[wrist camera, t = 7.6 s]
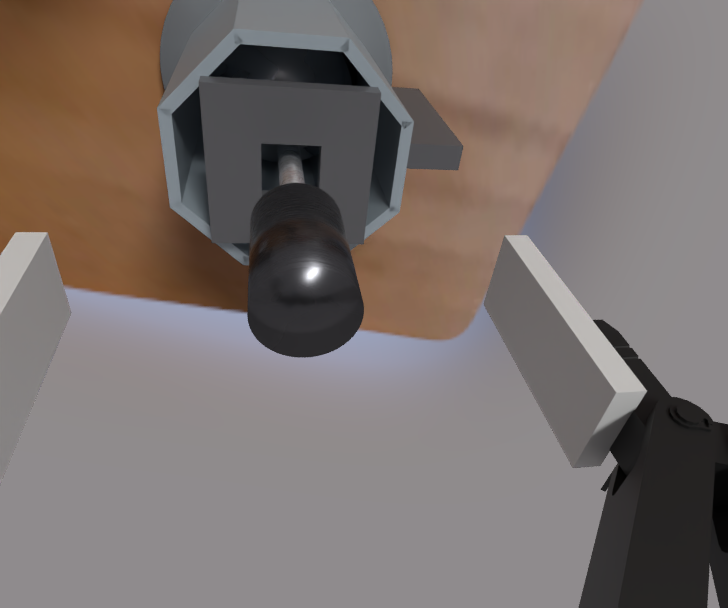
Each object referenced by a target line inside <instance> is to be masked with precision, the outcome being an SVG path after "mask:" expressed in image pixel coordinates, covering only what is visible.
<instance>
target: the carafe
mask: <svg viewBox="0 0 728 608" xmlns="http://www.w3.org/2000/svg"><path fill="white" fill-rule="evenodd" d="M240 44H246V45H259V46H272V47H285V48H299V49H312V50H325V51H338V52H341V53H342V55H343V57H344V59H345V61H346V64H347V66H348V69H349V72H350V76H351V81H352V85H336V84H321V83H305V82H290V81H274V80H259V79H243V78H228V77H212V76H210V74H211V73H212V72H213V71H214V70H215V69H216V68H217V67H218V66H219V65H220V64H221V63H222V62H223V61H224V60H225V59H226V58H227V57H228V56H229V55H230V54H231V53H232V52H233V51H234V50H235V49H236V48H237V47H238V46H239V45H240ZM157 111H158V119H159V127H160V134H161V142H162V150H163V157H164V165H165V173H166V180H167V188H168V196H169V203H170V208H172V209H173V210H174V211H175V212H177V213H178V214H179V215H180V216H182V217H183V218H184V219H185V220H187V221H188V222H189V223H191V224H192V225H193V226H194V227H196V228H197V229H198V230H199V231H201V232H202V233H203V234H204V235H206V236H207V237H208V238H210V239H211V241H212V243H216V244H217V245H218V246H220V247H221V248H222V249H223V250H225V251H226V252H227V253H229V254H230V255H231V256H232V257H234V258H235V259H236V260H237V261H239V262H240V263H241V264H242V265H249V245H250V218H251V214H252V211H253V208H254V206H255V205H256V203H257V202H258V200H259V199H260V198H261V197H262V196H263V195H264V194H265V193H267V192H268V191H270V190H271V189H273V188H275V187H278V186H280V183H279V168H278V162H272V161H268V160H264V159H261V144H284V145H308V146H319V153H318V154H317V155H315V156H312V157H310V158H308V159H305V160H301V161H302V168H303V174H304V181H305V184H309V185H313V186H316V187H318V188H320V189H322V190H323V191H325V192H326V193H328V194H329V195H330V196H331V197H332V198H333V199H334V201H335V202H336V204H337V205H338V207H339V209H340V212H341V216H342V220H343V224H344V228H345V232H346V236H347V240H348V244H349V248H350V250H352V249H353V248H354V247H356V246H357V245H358V244H364V239H366V238H367V237H368V236H370V235H371V234H372V233H373V232H375V231H376V230H377V229H378V228H380V227H381V226H382V225H384V224H385V223H386V222H387V221H389V220H390V219H391V218H392V217H394V216H395V215H396V214H398V213H399V212H400V206H401V199H402V193H403V187H404V181H405V174H406V168H410V169H438V170H458V168H459V164H460V159H461V155H462V150H463V145H462V144H461V142H460V141H459V140H458V139H457V137H456V136H455V135H454V133H453V132H452V131H451V130H450V128H449V127H448V126H447V124H446V123H445V122H444V121H443V119H442V118H441V117H440V116H439V114H438V113H437V112H436V110H435V109H434V108H433V107H432V105H431V104H430V103H429V101H428V100H427V99H426V98H425V96H424V95H423V94H422V93H421V91H420V90H419V89H413V88H398V87H391V86H390V84H389V83H388V81H387V80H386V78H385V77H384V75H383V74H382V72H381V70H380V69H379V67H378V66H377V64H376V63H375V61H374V60H373V58H372V57H371V55H370V54H369V52H368V51H367V49H366V48H365V46H364V45H363V44H362V42H361V41H360V40H359V38H358V37H357V36H356V34H355V33H354V32H353V30H352V29H351V28H350V26H349V25H348V24H347V22H346V21H345V20H344V19H343V17H342V16H341V15H340V13H339V12H338V11H337V9H336V8H335V7H334V5H333V4H332V3H331V1H330V0H222V2H221V3H220V4H219V5H218V6H217V7H216V8H215V9H214V10H213V11H212V12H211V13H210V14H209V15H208V17H207V18H206V19H205V20H204V21H203V22H202V23H201V24H200V25H199V26H198V27H197V28H196V29H195V30H194V32H193V33H192V34H191V35H190V38H189V40H188V42H187V44H186V46H185V49H184V51H183V53H182V55H181V57H180V59H179V62H178V64H177V66H176V68H175V70H174V72H173V75H172V77H171V79H170V81H169V83H168V86H167V88H166V90H165V92H164V94H163V96H162V99H161V101H160V103H159V105H158V107H157Z"/></svg>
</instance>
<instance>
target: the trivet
mask: <svg viewBox="0 0 728 608" xmlns="http://www.w3.org/2000/svg"><path fill="white" fill-rule="evenodd" d="M330 1H331V3H332V4H333V5H334V7H335V8H336V9H337V11H338V12H339V13H340V15H341V16H342V17H343V19H344V20H345V21H346V22H347V24H348V25H349V26H350V28H351V29H352V30H353V32H354V33H355V34H356V36H357V37H358V38H359V40H360V41H361V42H362V44H363V45H364V46H365V48H366V49H367V51H368V52H369V54H370V55H371V57H372V58H373V60H374V61H375V63H376V64H377V66H378V67H379V69H380V70H381V72H382V74H383V75H384V77H385V78H386V80H387V81H388V83H389V84H390V86H391V84H392V55H391V49H390V44H389V39H388V35H387V32H386V29H385V26H384V23H383V21H382V18H381V16H380V14H379V12H378V10H377V8H376V6H375V4H374V3H373V1H372V0H330ZM221 2H222V0H173V2H172V4H171V5H170V8H169V11H168V14H167V16H166V19H165V22H164V27H163V31H162V36H161V46H160V65H161V75H162V80H163V85H164V89H165V90H166V88H167V86H168V83H169V81H170V79H171V77H172V75H173V72H174V70H175V68H176V66H177V64H178V62H179V59H180V57H181V55H182V53H183V51H184V49H185V46H186V44H187V42H188V40H189V38H190V35H191V34H192V33H193V32H194V30H195V29H196V28H197V27H198V26H199V25H200V24H201V23H202V22H203V21H204V20H205V19H206V18H207V17H208V15H209V14H210V13H211V12H212V11H213V10H214V9H215V8H216V7H217V6H218V5H219V4H220V3H221Z"/></svg>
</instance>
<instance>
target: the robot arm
mask: <svg viewBox="0 0 728 608" xmlns="http://www.w3.org/2000/svg"><path fill="white" fill-rule="evenodd" d="M484 306H485V307H486V309H487V311H488V313H489V315H490V317H491V319H492V321H493V322H494V324H495V326H496V328H497V330H498V332H499V333H500V335H501V337H502V339H503V341H504V343H505V345H506V346H507V348H508V350H509V352H510V354H511V355H512V357H513V359H514V361H515V363H516V365H517V367H518V368H519V370H520V372H521V374H522V376H523V378H524V379H525V381H526V383H527V385H528V387H529V389H530V390H531V392H532V394H533V396H534V398H535V400H536V401H537V403H538V405H539V407H540V409H541V411H542V412H543V414H544V416H545V418H546V420H547V421H548V423H549V425H550V427H551V429H552V431H553V433H554V434H555V436H556V438H557V440H558V442H559V443H560V445H561V447H562V449H563V451H564V453H565V455H566V456H567V458H568V460H569V462H570V464H571V466H572V467H573V468H581V467H593V466H600V465H601V464H602V462H603V461H604V459H605V458H606V456H607V454H608V453H609V451H611V453H612V454H613V456H614V458H615V459H616V461H617V462H618V464H617V465H616V467H615V468H614V470H613V471H612V473H611V474H610V476H609V477H608V479H607V481H606V482H605V484H604V485H603V487H602V488H601V490H603V491H606V490H607V488H608V491H607V495H606V500H605V504H604V508H603V511H602V516H601V520H600V524H599V528H598V532H597V536H596V540H595V544H594V548H593V552H592V556H591V560H590V564H589V568H588V572H587V576H586V580H585V585H584V588H583V592H582V596H581V600H580V604H579V608H707V600H708V581H709V565H710V566H711V571H712V575H713V579H714V584H715V588H716V593H717V597H718V602H719V606H720V608H728V424H723V423H718V422H713V420H712V419H711V417H710V416H709V415H708V414H707V413H706V412H705V411H704V410H702V409H701V408H700V407H698V406H697V405H695V404H693V403H691V402H689V401H687V400H683V399H681V398H677V397H671V396H670V395H669V393H668V392H667V391H666V390H665V388H664V387H663V386H662V385H661V384H660V382H659V381H658V380H657V379H656V377H655V376H654V375H653V374H652V372H651V371H650V370H649V369H648V367H647V366H646V365H645V364H644V362H643V361H642V360H641V359H638V355H637V354H636V353H635V352H634V350H633V349H632V348H630V347H629V344H628V343H627V342H626V340H625V339H624V338H623V337H622V335H621V334H620V333H619V332H618V331H617V330H616V329H614V328H613V327H611V326H610V325H609V324H607V323H606V322H605V321H603V320H592V319H591V318H590V316H589V315H588V314H587V312H586V311H585V310H584V309H583V307H582V306H581V305H580V304H579V302H578V301H577V299H576V298H575V297H574V296H573V294H572V293H571V292H570V290H569V289H568V288H567V286H566V285H565V284H564V283H563V282H562V280H561V279H560V277H559V276H558V275H557V274H556V272H555V271H554V270H553V268H552V267H551V266H550V265H549V263H548V262H547V261H546V259H545V258H544V257H543V255H542V254H541V253H540V251H539V250H538V249H537V248H536V246H535V245H534V244H533V242H532V241H531V240H530V239H529V237H528V236H527V235H505V236H504V239H503V242H502V246H501V249H500V252H499V255H498V259H497V262H496V265H495V268H494V272H493V275H492V278H491V281H490V285H489V288H488V291H487V294H486V298H485V301H484ZM70 315H71V310H70V307H69V303H68V300H67V296H66V293H65V290H64V286H63V283H62V280H61V276H60V273H59V269H58V266H57V263H56V259H55V256H54V253H53V249H52V246H51V243H50V239H49V236H48V233H45V232H16V233H15V234H14V236H13V237H12V239H11V240H10V242H9V243H8V245H7V246H6V248H5V249H4V251H3V252H2V254H1V255H0V484H1V481H2V479H3V477H4V474H5V472H6V470H7V467H8V465H9V462H10V460H11V457H12V455H13V452H14V450H15V448H16V445H17V443H18V441H19V438H20V436H21V433H22V431H23V428H24V426H25V423H26V421H27V419H28V416H29V414H30V411H31V409H32V407H33V404H34V402H35V399H36V397H37V395H38V392H39V390H40V387H41V385H42V382H43V380H44V378H45V375H46V373H47V370H48V368H49V366H50V363H51V361H52V358H53V356H54V354H55V351H56V348H57V346H58V344H59V341H60V339H61V336H62V334H63V331H64V329H65V327H66V324H67V322H68V320H69V317H70Z"/></svg>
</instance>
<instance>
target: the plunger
mask: <svg viewBox="0 0 728 608" xmlns="http://www.w3.org/2000/svg"><path fill="white" fill-rule="evenodd" d="M210 76H212V77H228V78H243V79H259V80H274V81H290V82H305V83H321V84H336V85H352V81H351V76H350V72H349V69H348V66H347V64H346V61H345V59H344V57H343V55H342V53H341V52H338V51H325V50H312V49H299V48H285V47H272V46H259V45H246V44H240V45H239V46H238V47H237V48H236V49H235V50H234V51H233V52H232V53H231V54H230V55H229V56H228V57H227V58H226V59H225V60H224V61H223V62H222V63H221V64H220V65H219V66H218V67H217V68H216V69H215V70H214V71H213V72H212V73H211V74H210ZM318 153H319V146H308V145H284V144H261V159H264V160H268V161H272V162H278V168H279V183H280V186H278V187H275V188H273V189H271V190H270V191H268V192H267V193H265V194H264V195H263V196H262V197H261V198H260V199H259V200H258V202H257V203H256V205H255V206H254V208H253V211H252V214H251V218H250V245H249V281H248V323H249V326H250V329H251V331H252V333H253V334H254V336H255V337H256V338H257V340H258V341H259V342H260V343H262V344H263V345H264V346H265V347H267V348H269V349H270V350H272V351H274V352H276V353H279V354H282V355H286V356H291V357H313V356H319V355H323V354H326V353H329V352H331V351H334V350H335V349H338V348H339V347H341V346H342V345H344V344H345V343H346V342H347V341H349V340H350V339H351V337H353V336H354V334H355V333H356V332H357V330H358V329H359V327H360V325H361V322H362V319H363V314H364V306H363V300H362V296H361V292H360V288H359V284H358V280H357V276H356V272H355V268H354V264H353V260H352V256H351V252H350V248H349V244H348V240H347V236H346V232H345V228H344V224H343V220H342V216H341V212H340V209H339V207H338V205H337V204H336V202H335V201H334V199H333V198H332V197H331V196H330V195H329V194H328V193H326V192H325V191H323V190H322V189H320V188H318V187H316V186H313V185H309V184H305V181H304V174H303V168H302V161H301V160H305V159H308V158H310V157H312V156H315V155H317V154H318Z"/></svg>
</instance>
